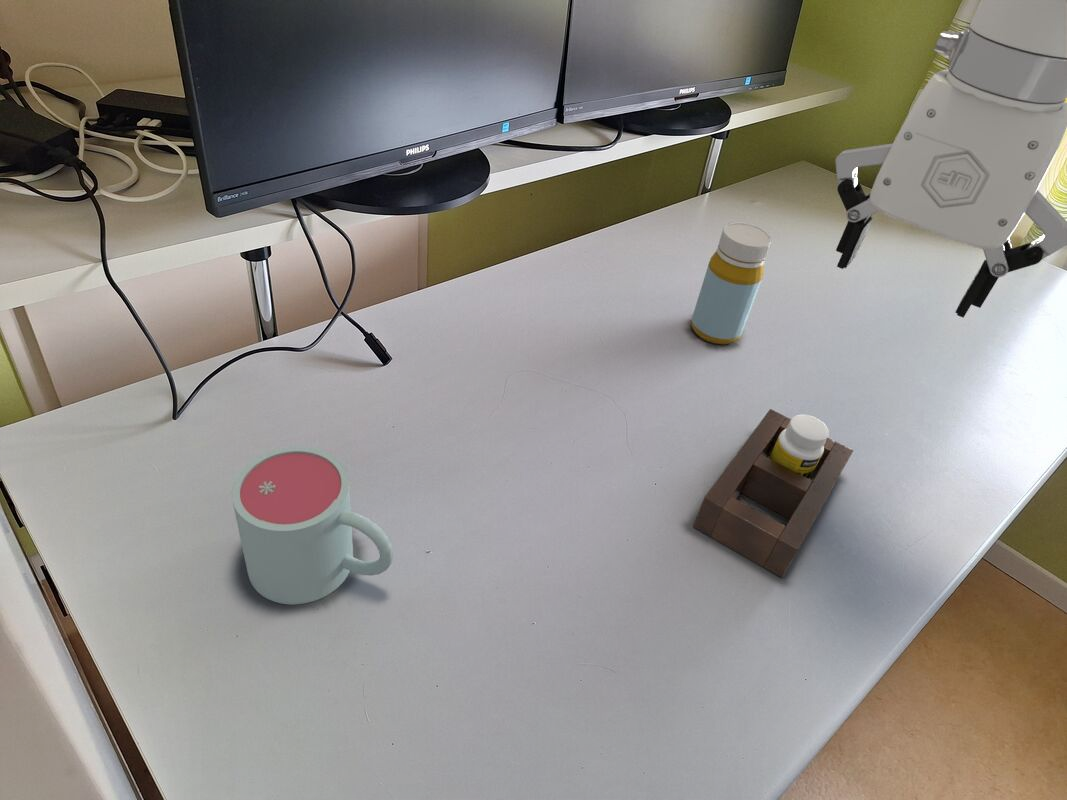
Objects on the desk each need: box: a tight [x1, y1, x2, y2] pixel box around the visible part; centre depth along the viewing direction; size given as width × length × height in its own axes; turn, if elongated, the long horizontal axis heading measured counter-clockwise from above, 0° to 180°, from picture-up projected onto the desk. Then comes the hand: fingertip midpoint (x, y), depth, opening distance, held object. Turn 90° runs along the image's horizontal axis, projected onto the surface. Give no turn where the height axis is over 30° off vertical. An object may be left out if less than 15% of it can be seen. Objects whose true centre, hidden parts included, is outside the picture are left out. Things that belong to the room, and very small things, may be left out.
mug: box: [231, 445, 394, 605], centre depth 65 cm, size 14×9×10 cm
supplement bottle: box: [768, 413, 830, 480], centre depth 81 cm, size 5×5×8 cm
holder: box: [692, 408, 854, 578], centre depth 80 cm, size 10×18×4 cm, turn 145°
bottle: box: [690, 221, 773, 345], centre depth 100 cm, size 7×7×15 cm
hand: (902, 285), depth 62 cm, fingers open, 9 cm apart
